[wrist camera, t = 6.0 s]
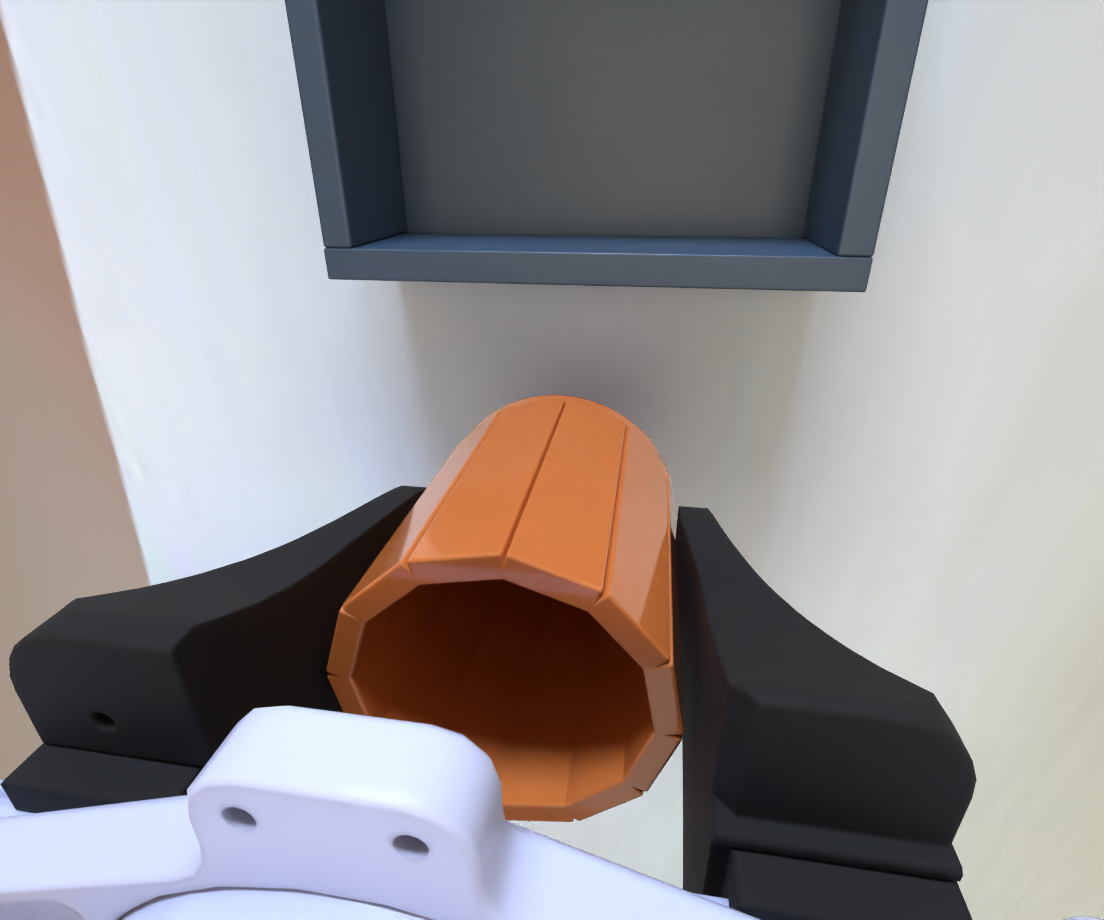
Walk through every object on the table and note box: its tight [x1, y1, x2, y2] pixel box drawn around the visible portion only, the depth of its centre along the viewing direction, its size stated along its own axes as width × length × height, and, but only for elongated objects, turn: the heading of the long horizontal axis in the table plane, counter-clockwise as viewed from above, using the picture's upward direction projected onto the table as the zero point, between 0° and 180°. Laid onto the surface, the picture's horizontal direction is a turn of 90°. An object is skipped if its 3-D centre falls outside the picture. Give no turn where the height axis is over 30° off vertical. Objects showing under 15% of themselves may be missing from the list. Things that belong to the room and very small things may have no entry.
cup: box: [326, 395, 684, 822], centre depth 12 cm, size 6×6×6 cm
